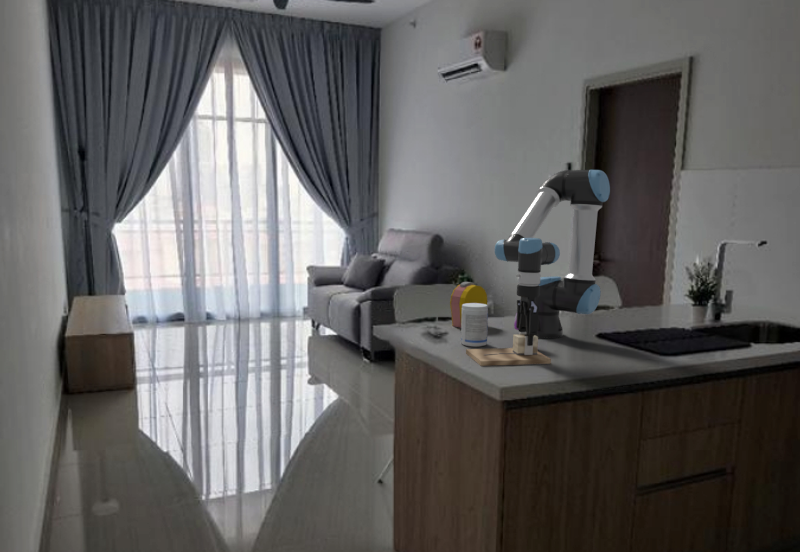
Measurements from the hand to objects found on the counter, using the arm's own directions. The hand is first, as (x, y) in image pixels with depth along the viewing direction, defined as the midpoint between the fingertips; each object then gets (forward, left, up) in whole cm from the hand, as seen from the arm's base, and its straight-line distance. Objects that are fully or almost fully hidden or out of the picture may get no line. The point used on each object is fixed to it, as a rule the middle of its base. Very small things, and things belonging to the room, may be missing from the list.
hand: (525, 352), depth 213 cm
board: (+6, 0, -2) cm, 7 cm away
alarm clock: (+3, -54, -2) cm, 54 cm away
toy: (-6, -16, -2) cm, 17 cm away
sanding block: (0, 0, 0) cm, 0 cm away
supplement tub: (+11, -21, -2) cm, 24 cm away
